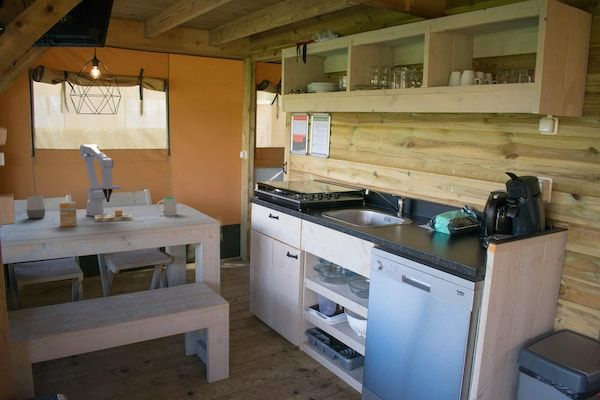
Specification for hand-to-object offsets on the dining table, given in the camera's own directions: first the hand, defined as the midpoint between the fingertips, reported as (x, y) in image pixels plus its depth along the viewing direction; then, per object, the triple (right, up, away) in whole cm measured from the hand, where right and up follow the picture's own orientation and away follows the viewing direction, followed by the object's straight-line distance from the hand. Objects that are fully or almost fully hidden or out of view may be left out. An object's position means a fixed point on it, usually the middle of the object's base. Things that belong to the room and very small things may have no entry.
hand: (108, 201), depth 286 cm
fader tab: (+6, -8, +2) cm, 10 cm away
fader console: (+3, -10, +1) cm, 11 cm away
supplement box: (-14, -13, -19) cm, 27 cm away
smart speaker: (-42, -10, -1) cm, 43 cm away
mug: (+30, -8, +19) cm, 36 cm away
